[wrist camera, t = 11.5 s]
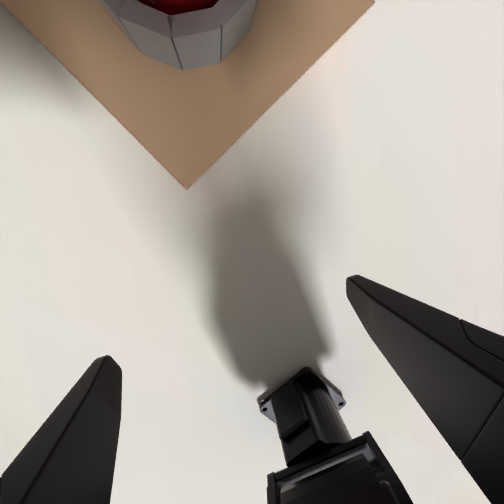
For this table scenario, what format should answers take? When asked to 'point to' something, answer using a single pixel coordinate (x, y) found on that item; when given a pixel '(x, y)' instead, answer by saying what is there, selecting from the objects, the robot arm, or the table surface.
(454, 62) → the table surface
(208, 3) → the beverage can
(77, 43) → the square cardboard coaster
